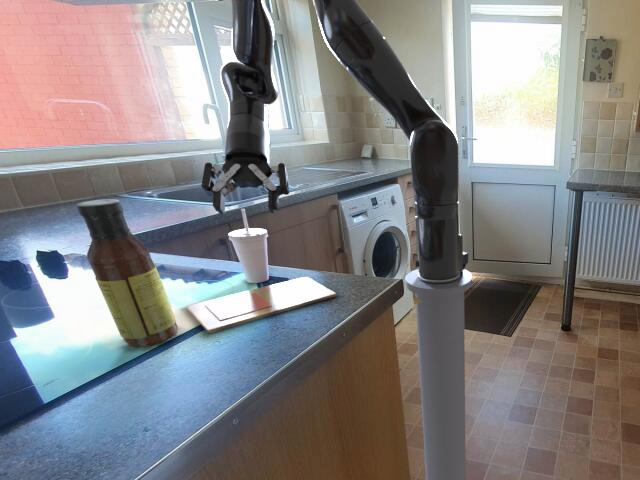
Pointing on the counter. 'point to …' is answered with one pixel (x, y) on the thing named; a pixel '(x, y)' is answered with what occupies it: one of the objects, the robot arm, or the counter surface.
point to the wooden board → (258, 303)
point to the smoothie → (251, 251)
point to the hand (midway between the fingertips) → (246, 211)
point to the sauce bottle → (127, 276)
